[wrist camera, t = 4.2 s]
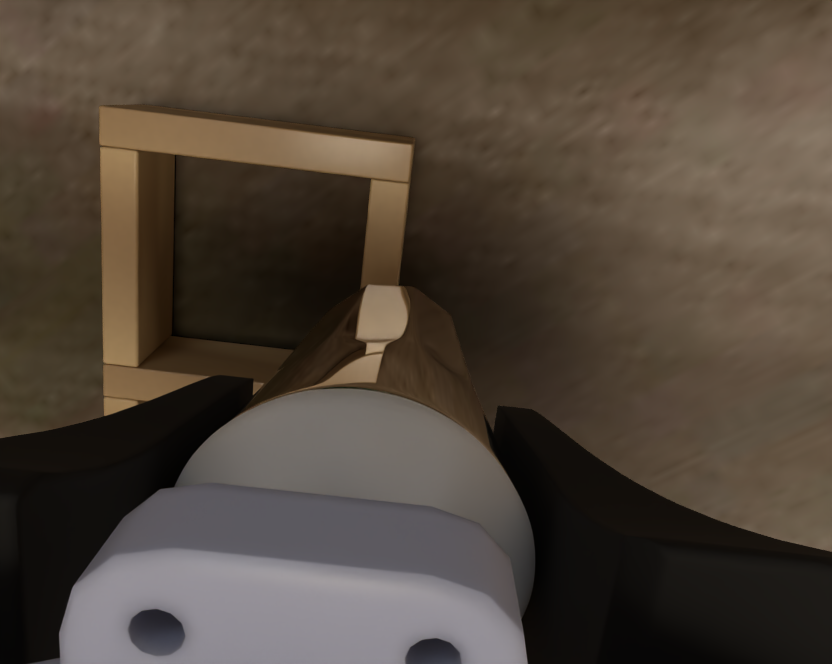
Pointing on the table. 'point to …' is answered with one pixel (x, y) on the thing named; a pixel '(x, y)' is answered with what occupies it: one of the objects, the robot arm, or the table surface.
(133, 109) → the rack
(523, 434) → the robot arm
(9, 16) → the table surface
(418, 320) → the milkshake
